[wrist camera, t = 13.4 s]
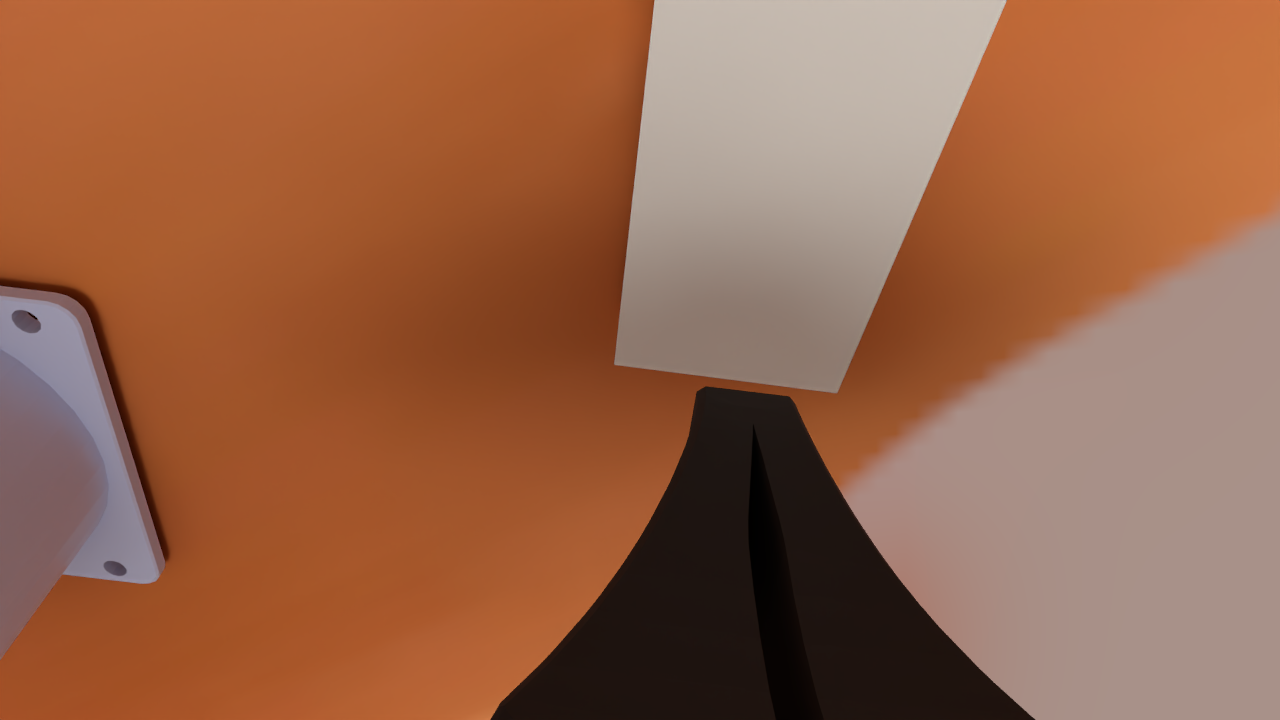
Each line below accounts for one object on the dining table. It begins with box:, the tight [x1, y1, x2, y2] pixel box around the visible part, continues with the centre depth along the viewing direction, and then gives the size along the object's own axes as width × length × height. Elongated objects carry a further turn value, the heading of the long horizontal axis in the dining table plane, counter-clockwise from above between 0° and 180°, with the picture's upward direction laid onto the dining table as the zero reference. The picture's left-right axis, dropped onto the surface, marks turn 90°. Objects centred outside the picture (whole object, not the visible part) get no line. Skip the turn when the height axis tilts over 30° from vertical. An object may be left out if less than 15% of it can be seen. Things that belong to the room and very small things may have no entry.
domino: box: [614, 0, 1007, 393], centre depth 14 cm, size 4×1×8 cm
